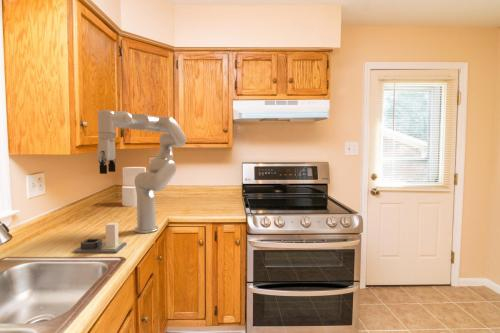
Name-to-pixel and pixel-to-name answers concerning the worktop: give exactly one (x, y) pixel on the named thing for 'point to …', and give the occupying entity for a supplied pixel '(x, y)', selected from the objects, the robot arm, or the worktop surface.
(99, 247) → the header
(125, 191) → the white tall block
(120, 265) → the worktop surface
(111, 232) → the plug
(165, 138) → the robot arm
